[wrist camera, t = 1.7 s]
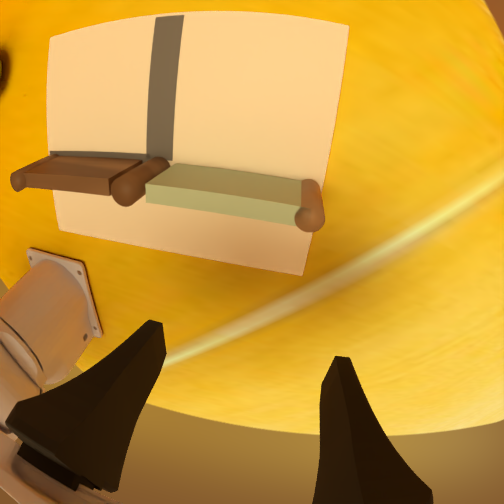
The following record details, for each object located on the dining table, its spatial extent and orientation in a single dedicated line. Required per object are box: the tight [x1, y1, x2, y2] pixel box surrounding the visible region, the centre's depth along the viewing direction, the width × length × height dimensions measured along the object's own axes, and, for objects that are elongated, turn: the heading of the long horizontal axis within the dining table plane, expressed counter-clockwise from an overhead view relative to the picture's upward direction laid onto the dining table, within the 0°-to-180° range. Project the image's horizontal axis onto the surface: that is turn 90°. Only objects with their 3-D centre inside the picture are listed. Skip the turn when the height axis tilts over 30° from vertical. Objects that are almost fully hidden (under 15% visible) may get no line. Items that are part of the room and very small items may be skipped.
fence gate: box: [145, 163, 325, 232], centre depth 15 cm, size 9×1×4 cm, turn 84°
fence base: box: [10, 154, 170, 207], centre depth 16 cm, size 2×11×4 cm, turn 83°
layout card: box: [47, 11, 349, 276], centre depth 17 cm, size 16×20×1 cm
